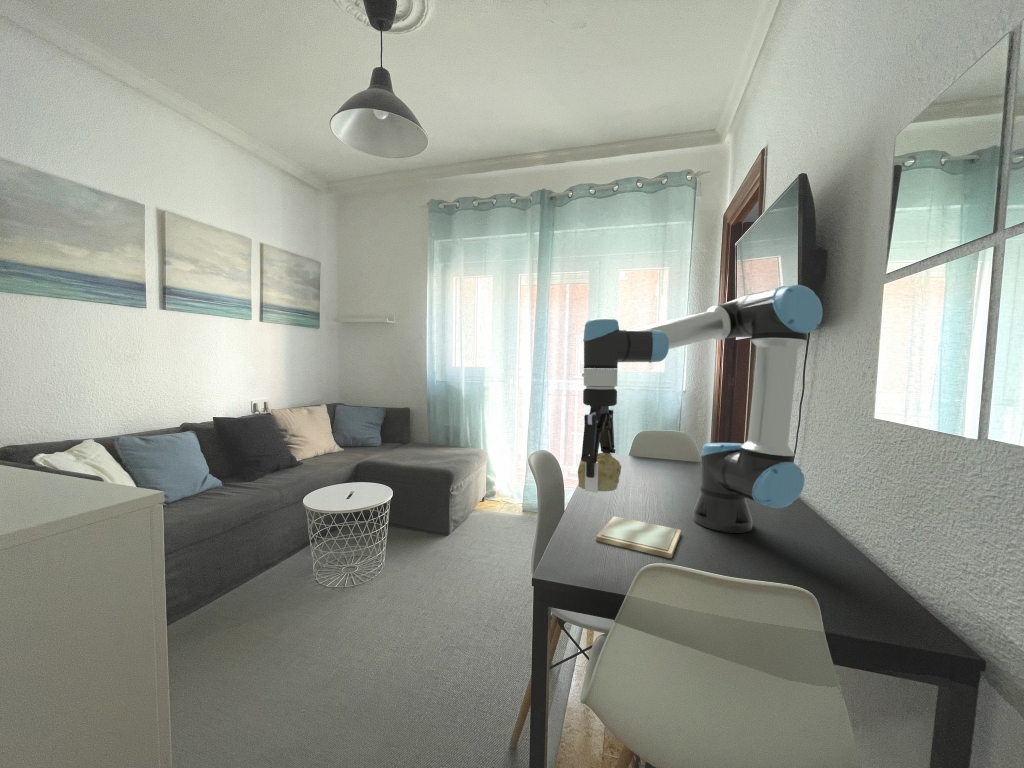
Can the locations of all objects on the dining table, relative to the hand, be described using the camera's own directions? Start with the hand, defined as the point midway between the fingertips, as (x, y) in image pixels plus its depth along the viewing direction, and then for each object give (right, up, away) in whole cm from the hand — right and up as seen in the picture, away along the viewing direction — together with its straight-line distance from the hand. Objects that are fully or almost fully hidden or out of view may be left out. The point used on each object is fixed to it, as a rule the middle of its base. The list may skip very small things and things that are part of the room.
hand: (598, 485), depth 92 cm
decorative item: (0, 0, 0) cm, 0 cm away
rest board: (+13, -17, +12) cm, 25 cm away
